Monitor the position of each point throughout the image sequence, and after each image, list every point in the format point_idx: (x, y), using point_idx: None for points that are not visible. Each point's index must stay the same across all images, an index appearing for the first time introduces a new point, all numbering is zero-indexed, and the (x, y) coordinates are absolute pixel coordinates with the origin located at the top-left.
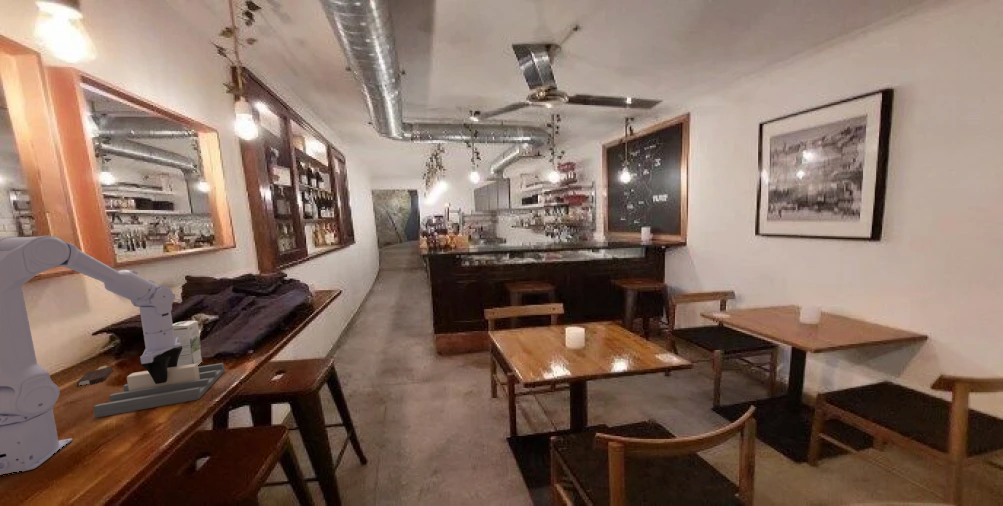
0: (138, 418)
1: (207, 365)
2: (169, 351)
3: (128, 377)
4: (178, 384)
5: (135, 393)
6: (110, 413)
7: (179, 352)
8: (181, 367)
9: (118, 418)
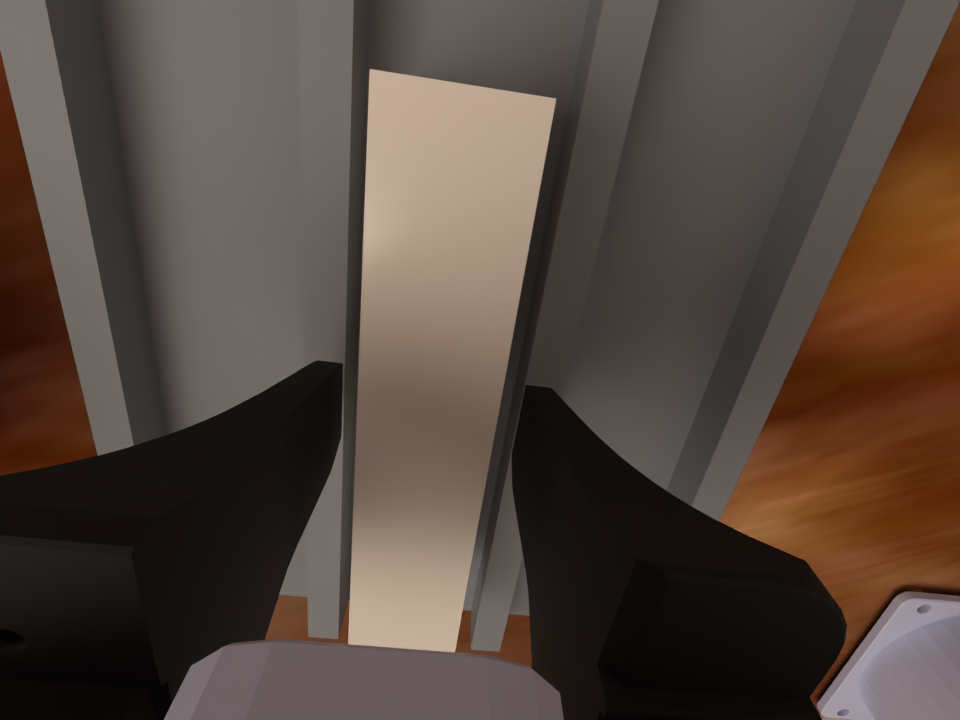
0: (873, 391)
1: (13, 57)
2: (180, 670)
3: None
4: (592, 259)
5: None
6: None
7: (134, 482)
8: (457, 301)
9: (756, 495)
